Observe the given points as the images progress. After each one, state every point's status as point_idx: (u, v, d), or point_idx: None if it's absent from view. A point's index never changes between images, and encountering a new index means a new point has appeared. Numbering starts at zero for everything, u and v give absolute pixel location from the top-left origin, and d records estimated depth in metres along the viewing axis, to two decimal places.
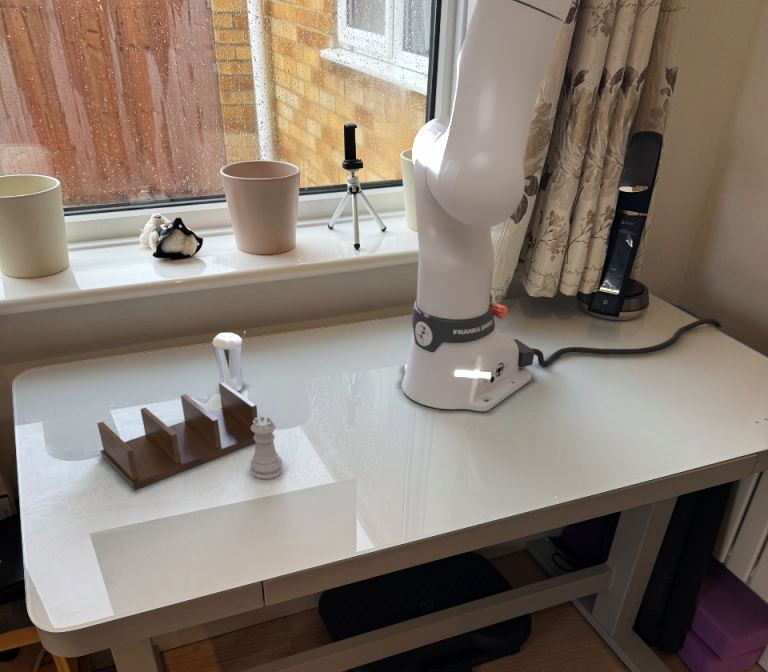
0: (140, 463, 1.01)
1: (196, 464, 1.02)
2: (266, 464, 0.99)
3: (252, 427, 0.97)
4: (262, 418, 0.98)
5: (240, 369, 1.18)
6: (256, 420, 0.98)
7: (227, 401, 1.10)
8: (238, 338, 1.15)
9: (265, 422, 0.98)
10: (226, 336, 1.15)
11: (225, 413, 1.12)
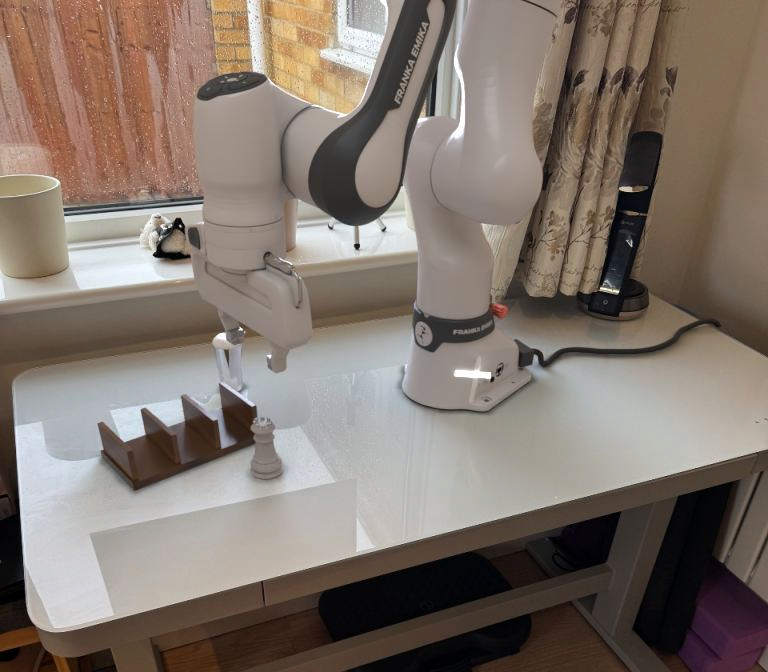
0: (140, 463, 1.01)
1: (196, 464, 1.02)
2: (266, 464, 0.99)
3: (252, 427, 0.97)
4: (262, 418, 0.98)
5: (240, 369, 1.18)
6: (256, 420, 0.98)
7: (227, 401, 1.10)
8: None
9: (265, 422, 0.98)
10: None
11: (225, 413, 1.12)
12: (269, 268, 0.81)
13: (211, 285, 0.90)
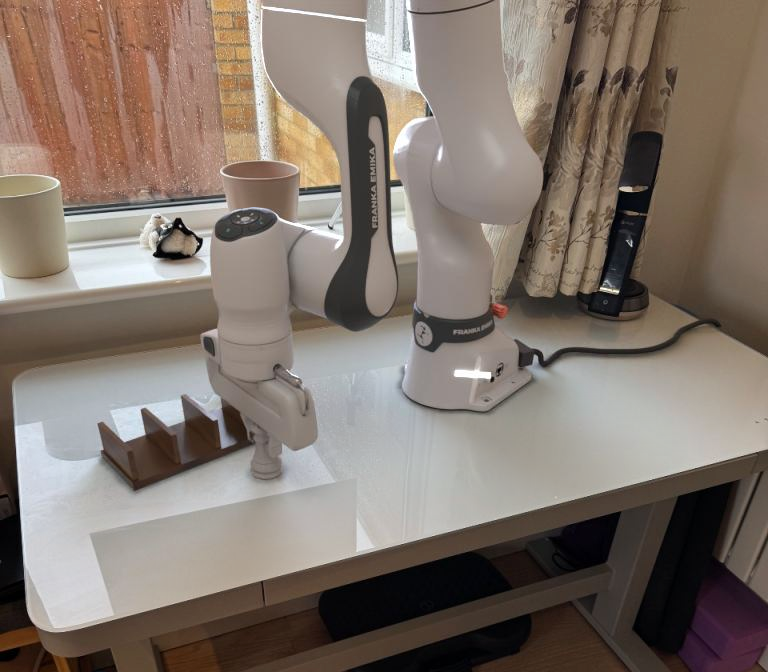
0: (140, 463, 1.01)
1: (196, 464, 1.02)
2: (266, 464, 0.99)
3: (252, 427, 0.97)
4: None
5: None
6: None
7: None
8: None
9: None
10: None
11: (225, 413, 1.12)
12: (278, 379, 0.89)
13: (224, 384, 0.98)
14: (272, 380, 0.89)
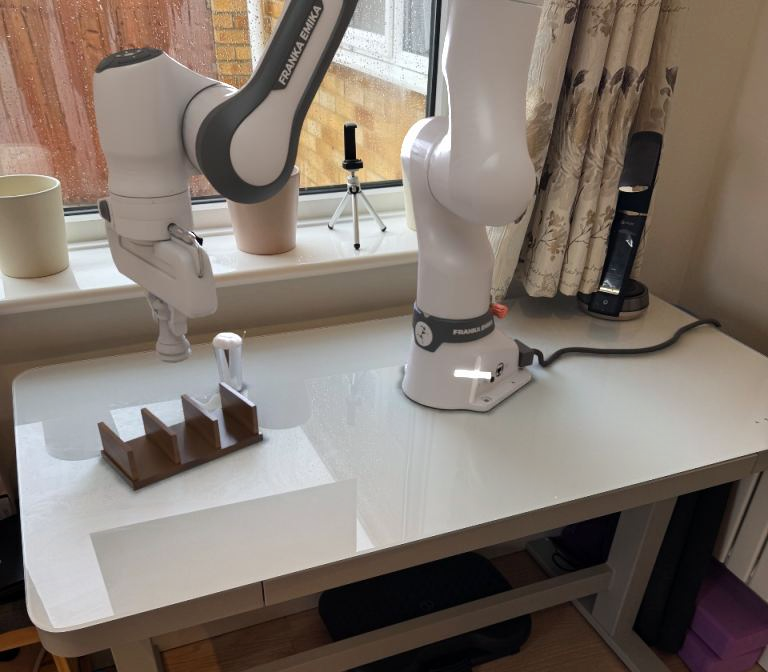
0: (140, 463, 1.01)
1: (196, 464, 1.02)
2: (171, 345, 0.94)
3: (154, 303, 0.92)
4: None
5: (240, 369, 1.18)
6: None
7: (227, 401, 1.10)
8: (238, 338, 1.15)
9: None
10: (226, 336, 1.15)
11: (225, 413, 1.12)
12: (173, 239, 0.83)
13: (125, 258, 0.92)
14: (167, 241, 0.84)
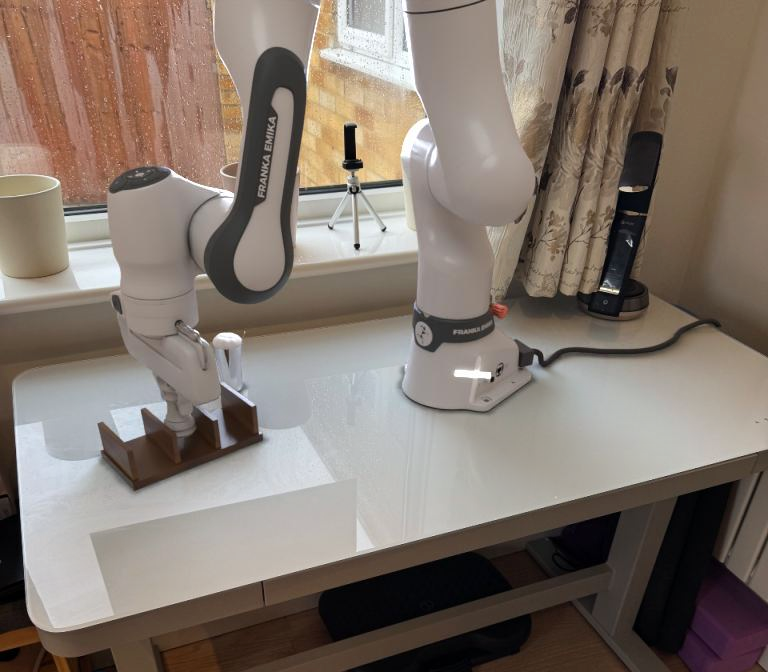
0: (140, 463, 1.01)
1: (196, 464, 1.02)
2: (178, 422, 1.02)
3: (162, 385, 0.99)
4: None
5: (240, 369, 1.18)
6: None
7: (227, 401, 1.10)
8: (238, 338, 1.15)
9: None
10: (226, 336, 1.15)
11: (225, 413, 1.12)
12: (180, 334, 0.91)
13: (135, 343, 1.00)
14: (174, 336, 0.91)
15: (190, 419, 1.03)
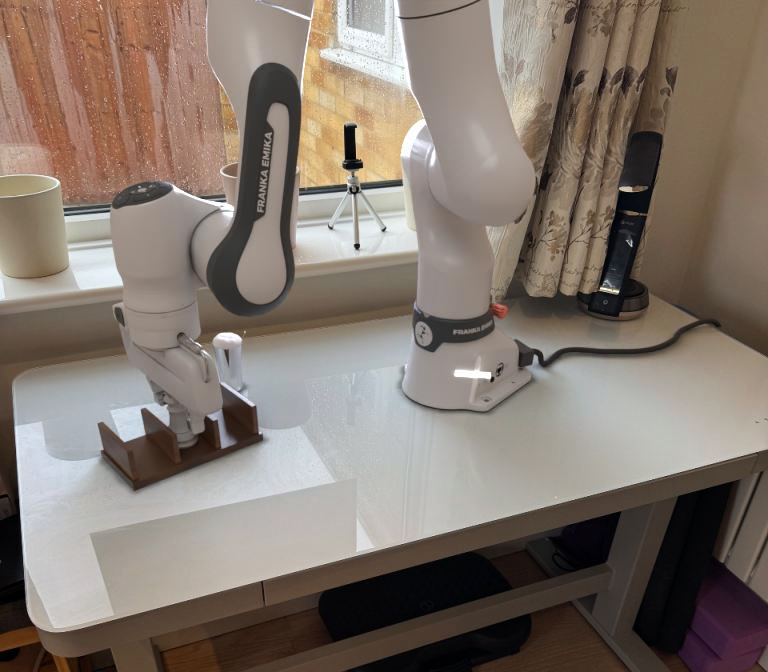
0: (140, 463, 1.01)
1: (196, 464, 1.02)
2: (180, 434, 1.03)
3: (164, 397, 1.00)
4: None
5: (240, 369, 1.18)
6: None
7: (227, 401, 1.10)
8: (238, 338, 1.15)
9: None
10: (226, 336, 1.15)
11: (225, 413, 1.12)
12: (182, 347, 0.92)
13: (138, 355, 1.01)
14: (177, 348, 0.92)
15: None
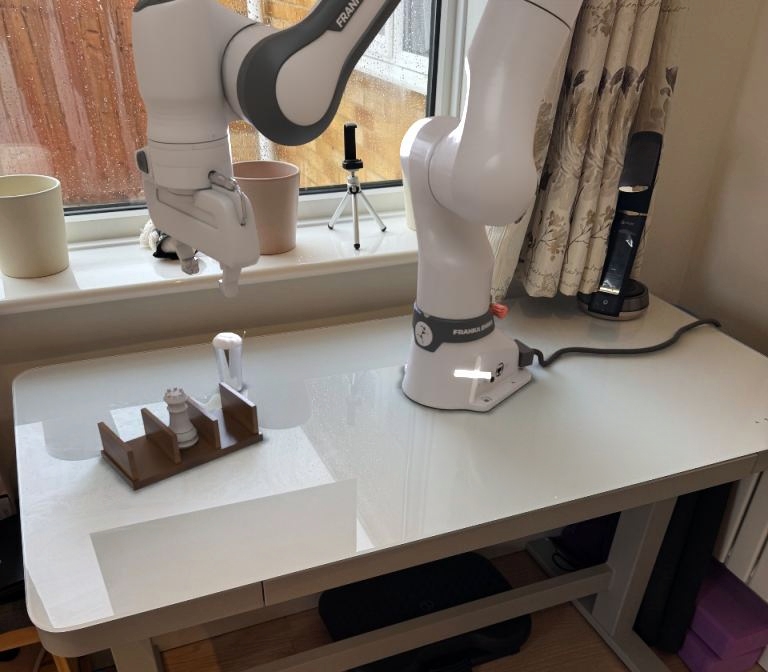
0: (140, 463, 1.01)
1: (196, 464, 1.02)
2: (180, 434, 1.03)
3: (164, 397, 1.00)
4: (175, 389, 1.01)
5: (240, 369, 1.18)
6: (168, 391, 1.01)
7: (227, 401, 1.10)
8: (238, 338, 1.15)
9: (177, 392, 1.01)
10: (226, 336, 1.15)
11: (225, 413, 1.12)
12: (214, 187, 0.81)
13: (163, 212, 0.90)
14: (208, 189, 0.82)
15: (192, 430, 1.04)
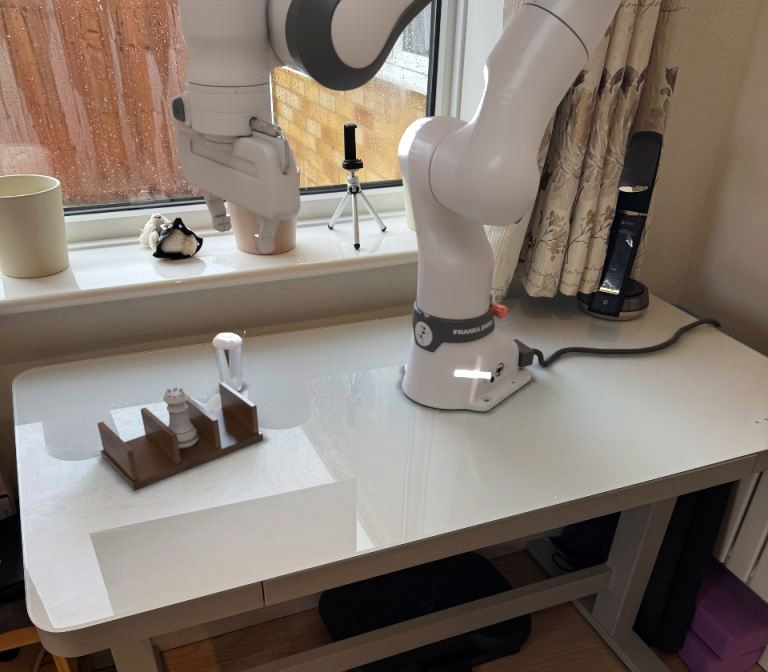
0: (140, 463, 1.01)
1: (196, 464, 1.02)
2: (180, 434, 1.03)
3: (164, 397, 1.00)
4: (175, 389, 1.01)
5: (240, 369, 1.18)
6: (168, 391, 1.01)
7: (227, 401, 1.10)
8: (238, 338, 1.15)
9: (177, 392, 1.01)
10: (226, 336, 1.15)
11: (225, 413, 1.12)
12: (256, 134, 0.79)
13: (197, 165, 0.87)
14: (248, 137, 0.79)
15: (192, 430, 1.04)
